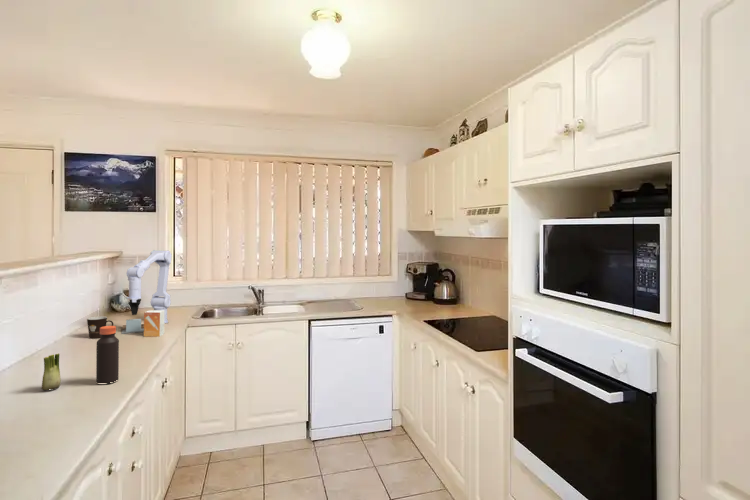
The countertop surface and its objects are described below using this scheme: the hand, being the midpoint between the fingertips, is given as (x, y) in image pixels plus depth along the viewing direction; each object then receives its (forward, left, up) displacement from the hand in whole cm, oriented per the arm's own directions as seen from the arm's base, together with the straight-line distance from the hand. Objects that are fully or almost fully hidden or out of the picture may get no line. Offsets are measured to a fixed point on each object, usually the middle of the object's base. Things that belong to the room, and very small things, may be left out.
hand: (134, 313), depth 223 cm
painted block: (0, -1, -9) cm, 9 cm away
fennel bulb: (+85, -20, -10) cm, 88 cm away
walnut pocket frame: (-9, 0, -10) cm, 13 cm away
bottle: (+84, -4, -10) cm, 84 cm away
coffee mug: (+9, -15, -10) cm, 20 cm away
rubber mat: (0, 0, -10) cm, 10 cm away
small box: (+14, +10, -10) cm, 20 cm away
